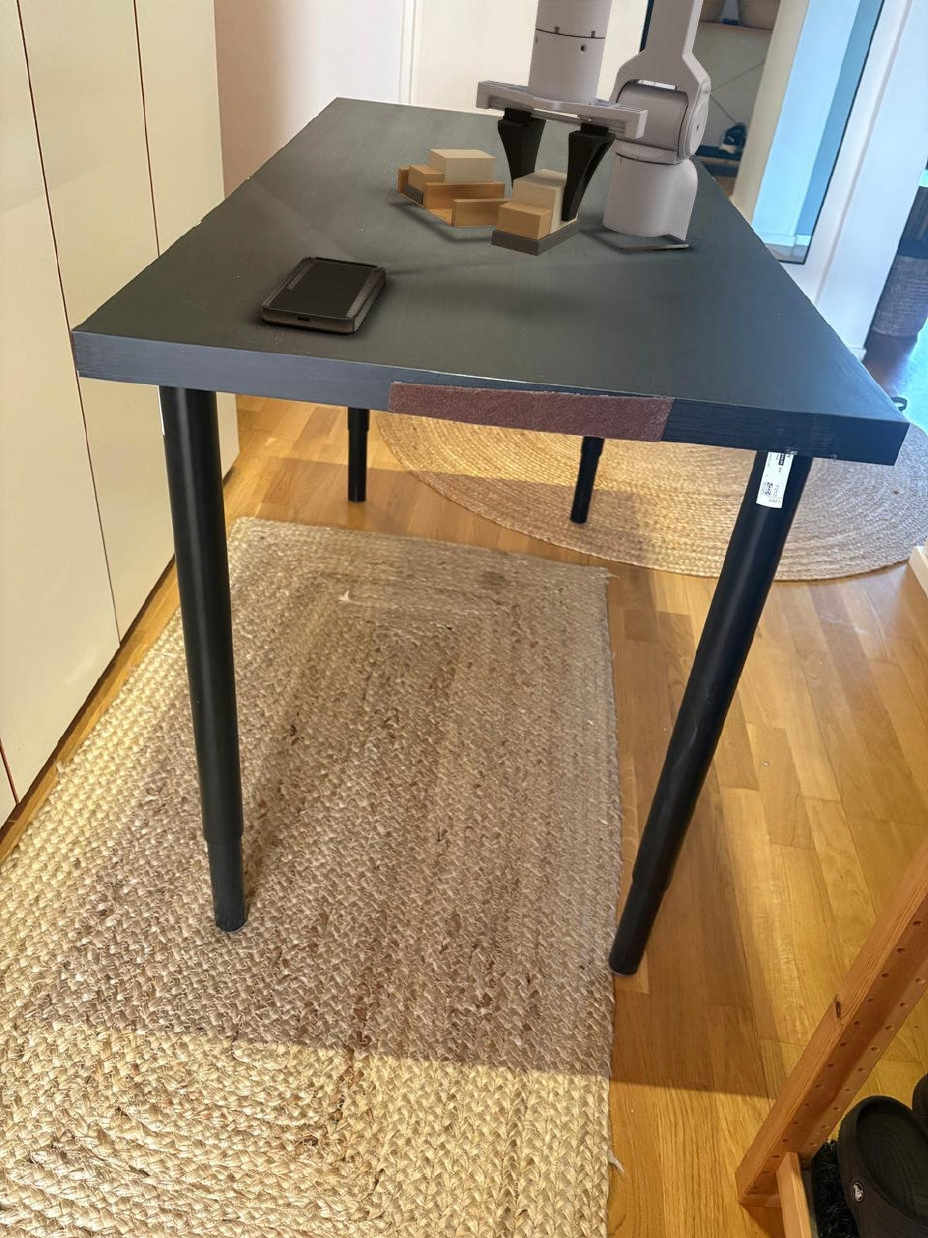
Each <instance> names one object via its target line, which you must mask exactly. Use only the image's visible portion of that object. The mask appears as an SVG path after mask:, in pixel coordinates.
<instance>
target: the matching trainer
mask: <svg viewBox="0 0 928 1238" xmlns="http://www.w3.org/2000/svg"><path fill="white" fill-rule="evenodd" d="M496 159H497V158H496V157H495V156H493V155H491V154H490V153H487V152H484V151H482V150H480V149H432V148H431V149H430V150H429V159H428V160H429V161H428V163H429V164H409V165H408V168H409V176H408V184H405V195H407V196H408V197H410V198H411V199H413V200H415V201H416V202H418V203H419V204H421V205H423V196H424V183H456V182H494V179H495V178H494V177H495V168H496Z"/></svg>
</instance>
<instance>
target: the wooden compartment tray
mask: <svg viewBox="0 0 928 1238" xmlns="http://www.w3.org/2000/svg"><path fill="white" fill-rule="evenodd" d="M408 176H409V167H398V170H397V185H396V186H397V187H396V191H397V193H399V194H400V195H402V196H404V197H405V198H407V199H408V200H410V201H412V202H413V203H415V204H417V205H418V206H420V207H421V208H423V209H425V210H426V211H428V212H429V213H431V214H432V215H434V216H436V217H437V218H439V219H440V220H441V221H444V222H445V223H447V224H448V225H450V226H452V227H453V228H461V227H463V228H464V227H465V228H466V227H488V226H489V227H491V226H497V225H498V216H499V208H500V206H501V205H503V204H505V203H508V202H510V201H511V198H512V197H508V198H507V197H506V198H505V191H506V183H505V182H503V181H493V182H456V183H424V196H423V205H421V204H419V203H418V202H416V201H415V200H413V199H411V198H410V197H408V196H407V195H405V184H408Z"/></svg>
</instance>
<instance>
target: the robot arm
mask: <svg viewBox="0 0 928 1238" xmlns="http://www.w3.org/2000/svg"><path fill="white" fill-rule="evenodd" d="M612 3H613V0H538V1H537V9H536V17H535V24H534V33H533V41H532V49H531V58H530V65H529V73H528V79H527V80H528V81H527V85H523V84H515V83H507V82H501V81H494V80H489V79H487V80H482V81H478V82H477V89H476V98H475V99H476V100H475V108H476V109H482V110H489V109H491V110H495V111H499V112H503V115H502V119H498V120H497V123H496V124H497V125H496V126H497V132H498V135H499V137H500V140H501V143H502V146H503V149H504V150H503V151H504V152H505V156H506V160H507V161H506V162H507V164H508V170H509V174H510V183H511V190H513V182H514V180H515V179H518V178H521V177H523V176H526V175H528V174H531V173H534V172H536V170H535V169H536V165H537V159H538V153H539V149H540V145H541V141H542V137H543V134H544V130H545V126H546V124H547V121H550V122H555V123H560V124H564V125H569V126H574V127H580V128H579V129H577V130H573V131H570V132H569V133H568V137H567V141H568V142H567V147H568V149H567V150H568V151H567V153H568V154H567V172H566V174H567V181H566V187H565V192H564V197H563V203H562V214H561V221H565V222H569V221H571V220H573V219H575V218H576V216H577V217H578V215H577V212H578V213H579V209H580V206H581V203H582V201H583V198H584V196H585V193H586V190H587V189H588V187H589V184H590V183H591V180H592V178H593V176H594V174H595V172H596V171H597V169H598V167H599V166H600V163H602V160H603V159H604V157H605V156H606V154H607V153H608V151H609V150H610V152H613V153H614V159H613V165H612V169H611V176H610V180H609V186H608V191H607V196H606V201H605V202H606V203H605V208H604V212H603V219H602V225H603V226H604V227H605V228H606V229H608V230H611V231H614V232H617V233H620V234H624V235H628V236H636V237H645V238H648V237H650V238H651V237H652V238H653V237H654V238H655V237H660V236H667V235H671V236H673V237H675V238H677V239H680V240H682V241H684V242H686V237H687V233H688V229H689V224H690V221H691V217H692V212H693V208H694V204H695V199H696V196H697V192H698V183H699V182H698V172H697V169H696V166H695V165H694V163H693V162H692V160H690V158H691V156H693V155H694V154H695V153H696V152H697V150H698V148H699V147H700V144H701V143H702V139H703V137H704V133H705V129H706V125H707V121H708V117H709V116H708V115H709V101H710V96H711V91H712V85H711V84H712V80H711V78H710V76H709V74H708V73H707V71H706V70H705V69H704V67H703V66H702V65H701V63H700V62H699V61H698V60H697V59H698V58H696V57H695V55H694V53H693V50H694V49H693V48H694V43H695V40H696V35H697V30H698V25H699V21H700V17H701V12H702V7H703V4H704V0H654V1H653V6H652V10H651V11H652V12H651V17H650V21H649V27H648V32H647V37H646V41H645V48H644V49H643V50H642V51H640V52H638V53H637V54H635V55H634V56H632V57H631V58H629V59H628V60H626V61H625V62H624V63H623V64H621V66H620V67H619V68H618V71H617V73H616V76H615V81H614V84H613V88H612V91H611V93H610V96H609V98H608V100H605V99H602V98H598V97H597V93H598V89H599V88H598V87H599V83H600V82H599V81H600V76H601V69H602V65H603V59H604V51H605V45H606V40H607V35H608V28H609V22H610V15H611V9H612ZM640 81H646V82H652V83H657V84H663V85H670V86H674V87H678V88H680V89H682V90H679V89H673V88H668V87H663V86H657V85H651V84H646V83H641V82H640ZM560 113H561V114H560ZM565 114H566V115H565ZM567 114H568V115H567ZM569 115H573V116H569ZM689 246H690V243H689V244H669V245H667V244H666V245H647V246H632V247H630V246H629V247H628V246H627V247H619V249H620V250H622V251H641V250H642V251H644V250H660V249H661V250H663V249H679V248H682V249H683V248H689Z"/></svg>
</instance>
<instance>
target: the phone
mask: <svg viewBox="0 0 928 1238" xmlns="http://www.w3.org/2000/svg"><path fill="white" fill-rule="evenodd" d="M386 277H387V268H386V267H384V266H381V265H376V264H371V263H365V262H364V263H363V262H356V261H349V260H343V259H337V258H336V259H335V258H330V257H322V256H305V257H303V258H302V259H301V260H300V261H299V262H298V263H297V264H296V265H295V266H294V268H292V270H291V271H290V272H289V273H288V274H287V276H286V277H284V278H283V279H282V281H281V282H280V283H279V284H277V286H276V287H275V288H274V289H273V291H272V292H271V293H270V294H269V295H268V296H267V297H266V299H264V301H263V302H262V304H261V312H262V313H261V314H262V315H261V316H262V319H263V320H264V321H265V322H267V323H270V324H277V325H284V326H292V327H297V328H306V329H312V330H320V331H325V332H333V333H339V334H351V333H354V332H356V331H357V330H358V329H359V327H360V326H361V324H362V322H363V321H364V319H365V317H366V316H367V314H368V312H369V310H370V309H371V307H372V305H373V304H374V302H375V300H376V299H377V297H378V296H379V294H380V292H381V290H383V287H384V286H385V285H386V282H387V281H386Z"/></svg>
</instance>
